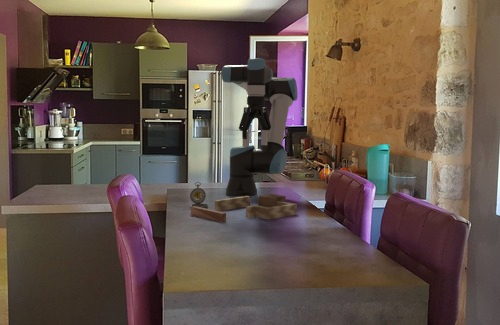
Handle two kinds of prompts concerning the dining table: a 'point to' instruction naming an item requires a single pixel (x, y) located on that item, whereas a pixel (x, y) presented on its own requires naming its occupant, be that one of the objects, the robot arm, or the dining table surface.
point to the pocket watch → (198, 196)
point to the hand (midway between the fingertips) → (255, 146)
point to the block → (270, 200)
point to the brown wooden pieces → (251, 211)
